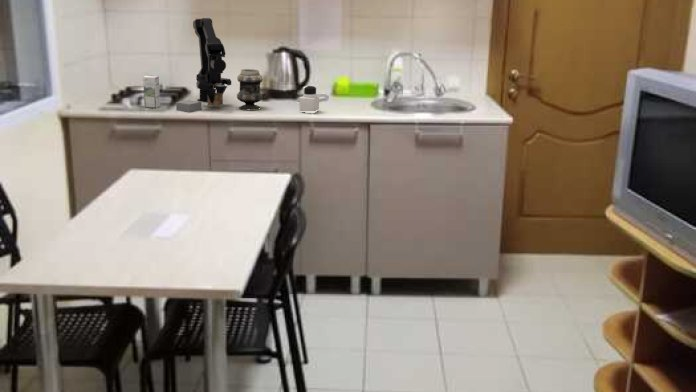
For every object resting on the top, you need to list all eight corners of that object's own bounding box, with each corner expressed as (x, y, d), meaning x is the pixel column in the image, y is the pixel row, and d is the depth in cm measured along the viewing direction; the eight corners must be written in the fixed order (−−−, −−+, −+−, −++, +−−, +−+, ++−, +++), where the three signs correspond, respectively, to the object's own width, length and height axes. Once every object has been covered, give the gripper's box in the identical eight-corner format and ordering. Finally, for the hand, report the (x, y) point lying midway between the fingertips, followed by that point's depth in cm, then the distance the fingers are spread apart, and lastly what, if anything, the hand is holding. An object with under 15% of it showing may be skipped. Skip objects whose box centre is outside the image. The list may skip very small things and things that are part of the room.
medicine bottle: (319, 111, 348) (319, 86, 345) (313, 114, 342) (314, 88, 338) (305, 110, 351) (305, 84, 347) (299, 112, 344) (299, 86, 341)
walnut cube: (214, 103, 351) (213, 92, 350) (222, 104, 349) (222, 93, 348) (207, 104, 347) (207, 94, 345) (216, 105, 345) (216, 95, 343)
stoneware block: (188, 108, 346) (188, 99, 345) (201, 110, 342) (201, 101, 341) (176, 110, 339) (176, 102, 338) (189, 113, 336) (189, 104, 334)
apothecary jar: (268, 108, 350) (268, 70, 345) (248, 111, 342) (247, 72, 336) (251, 104, 358) (251, 67, 352) (231, 107, 349) (231, 69, 344)
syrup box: (160, 106, 347) (159, 75, 343) (156, 108, 342) (154, 76, 337) (148, 105, 348) (147, 74, 343) (144, 107, 342) (142, 76, 338)
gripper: (212, 65, 354) (213, 97, 359) (187, 69, 338) (188, 103, 343) (231, 67, 350) (232, 100, 355) (207, 71, 334) (208, 105, 338)
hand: (215, 102), depth 348 cm, fingers closed on walnut cube, 5 cm apart
